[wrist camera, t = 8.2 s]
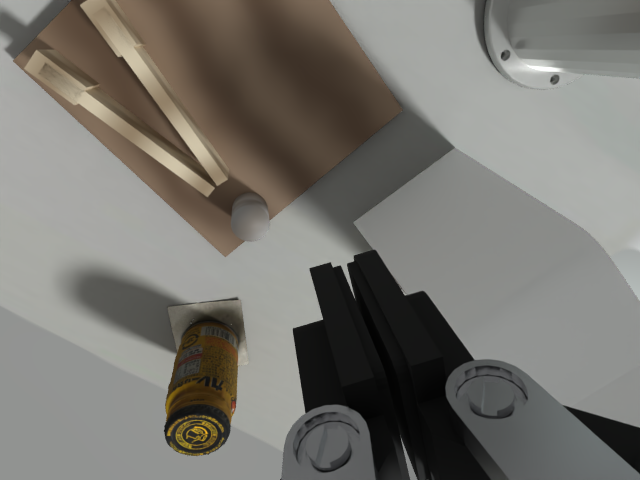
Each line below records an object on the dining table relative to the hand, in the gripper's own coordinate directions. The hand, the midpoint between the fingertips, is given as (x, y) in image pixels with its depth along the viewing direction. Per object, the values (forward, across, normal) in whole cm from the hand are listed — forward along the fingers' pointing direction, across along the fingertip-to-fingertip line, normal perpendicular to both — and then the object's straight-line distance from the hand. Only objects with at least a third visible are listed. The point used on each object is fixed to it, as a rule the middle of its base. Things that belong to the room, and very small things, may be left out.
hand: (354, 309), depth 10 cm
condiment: (+29, +13, +19) cm, 37 cm away
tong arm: (+28, +8, -4) cm, 29 cm away
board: (+29, +4, -4) cm, 30 cm away
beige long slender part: (+28, +10, -1) cm, 30 cm away
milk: (+29, -12, +14) cm, 35 cm away
